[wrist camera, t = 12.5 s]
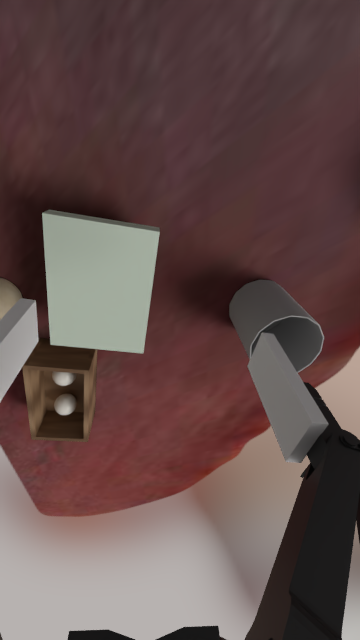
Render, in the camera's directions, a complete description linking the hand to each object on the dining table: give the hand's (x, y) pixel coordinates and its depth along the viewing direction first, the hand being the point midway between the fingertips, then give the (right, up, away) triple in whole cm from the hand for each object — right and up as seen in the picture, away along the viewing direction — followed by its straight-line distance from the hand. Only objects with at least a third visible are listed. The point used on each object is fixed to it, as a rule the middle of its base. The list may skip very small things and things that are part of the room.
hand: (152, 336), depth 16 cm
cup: (+13, +3, +23) cm, 27 cm away
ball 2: (-16, -12, +26) cm, 33 cm away
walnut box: (-16, -8, +27) cm, 32 cm away
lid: (-7, +5, +16) cm, 18 cm away
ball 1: (-15, -7, +23) cm, 28 cm away
